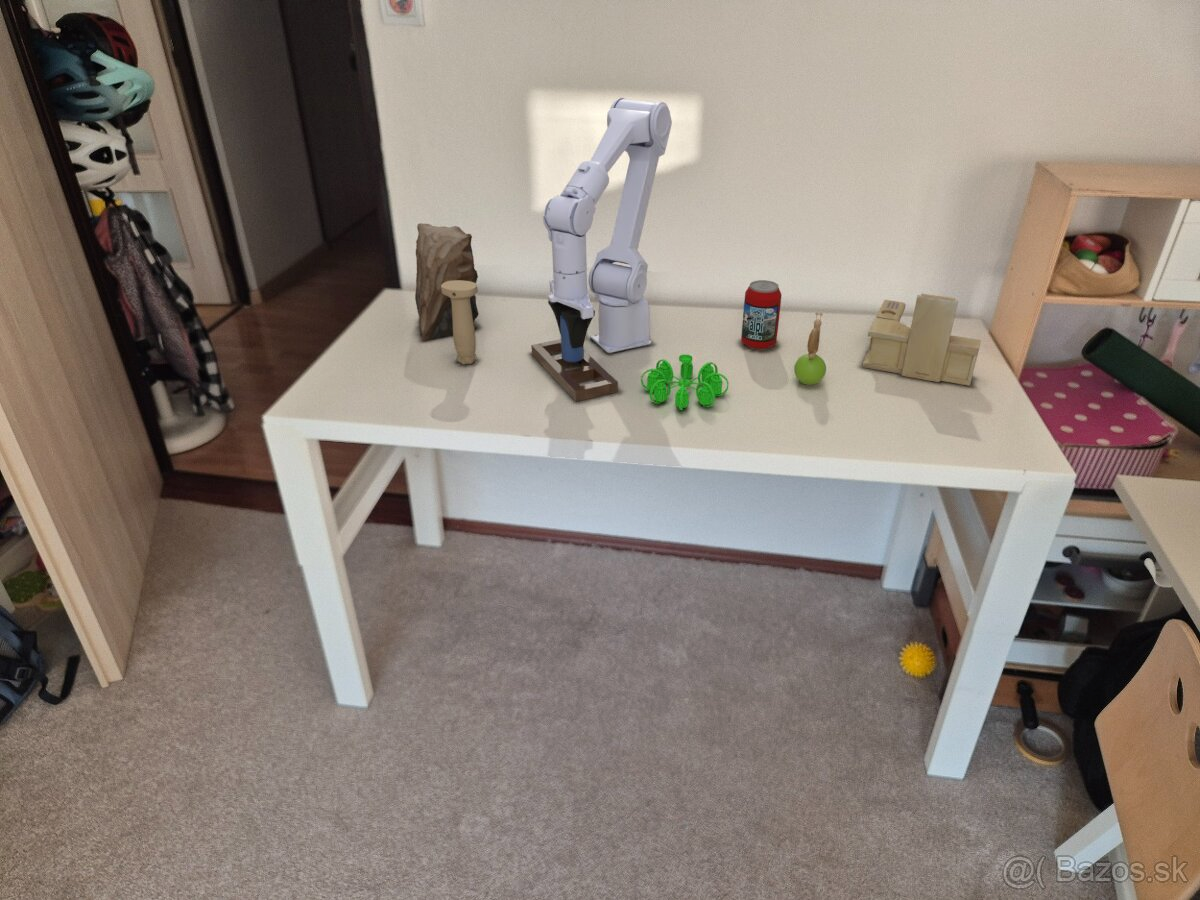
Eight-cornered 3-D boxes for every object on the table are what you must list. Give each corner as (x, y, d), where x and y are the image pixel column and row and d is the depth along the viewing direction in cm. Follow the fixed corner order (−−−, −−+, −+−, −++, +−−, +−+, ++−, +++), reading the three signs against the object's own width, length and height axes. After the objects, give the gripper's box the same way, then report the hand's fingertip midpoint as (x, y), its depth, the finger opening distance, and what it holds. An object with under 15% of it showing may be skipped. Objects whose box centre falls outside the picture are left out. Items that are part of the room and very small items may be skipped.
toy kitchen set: (977, 350, 158) (996, 274, 150) (969, 388, 146) (990, 307, 138) (877, 334, 165) (890, 260, 157) (861, 368, 152) (874, 290, 144)
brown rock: (417, 316, 175) (405, 222, 164) (478, 311, 177) (469, 217, 166) (420, 341, 164) (406, 242, 154) (484, 335, 167) (475, 236, 156)
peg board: (570, 346, 162) (570, 337, 161) (618, 392, 146) (618, 381, 145) (531, 354, 159) (531, 344, 158) (576, 401, 143) (575, 391, 142)
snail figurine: (826, 376, 150) (835, 313, 144) (822, 392, 145) (831, 328, 139) (795, 371, 152) (803, 309, 145) (790, 387, 147) (798, 324, 140)
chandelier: (645, 371, 152) (646, 336, 149) (728, 376, 150) (731, 341, 147) (635, 411, 140) (636, 374, 136) (725, 417, 138) (729, 380, 134)
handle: (477, 369, 154) (470, 292, 146) (445, 365, 156) (436, 288, 148) (487, 358, 158) (481, 282, 150) (456, 354, 159) (448, 279, 151)
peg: (578, 350, 153) (577, 309, 149) (587, 359, 150) (586, 317, 146) (558, 355, 152) (556, 314, 147) (567, 363, 149) (565, 322, 144)
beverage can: (736, 348, 160) (741, 289, 154) (745, 334, 166) (750, 277, 159) (771, 354, 158) (778, 294, 152) (779, 340, 163) (785, 281, 157)
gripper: (532, 259, 146) (536, 330, 153) (565, 286, 135) (567, 362, 142) (569, 253, 149) (571, 323, 156) (604, 279, 137) (605, 354, 145)
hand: (572, 341), depth 149 cm, fingers closed on peg, 4 cm apart
